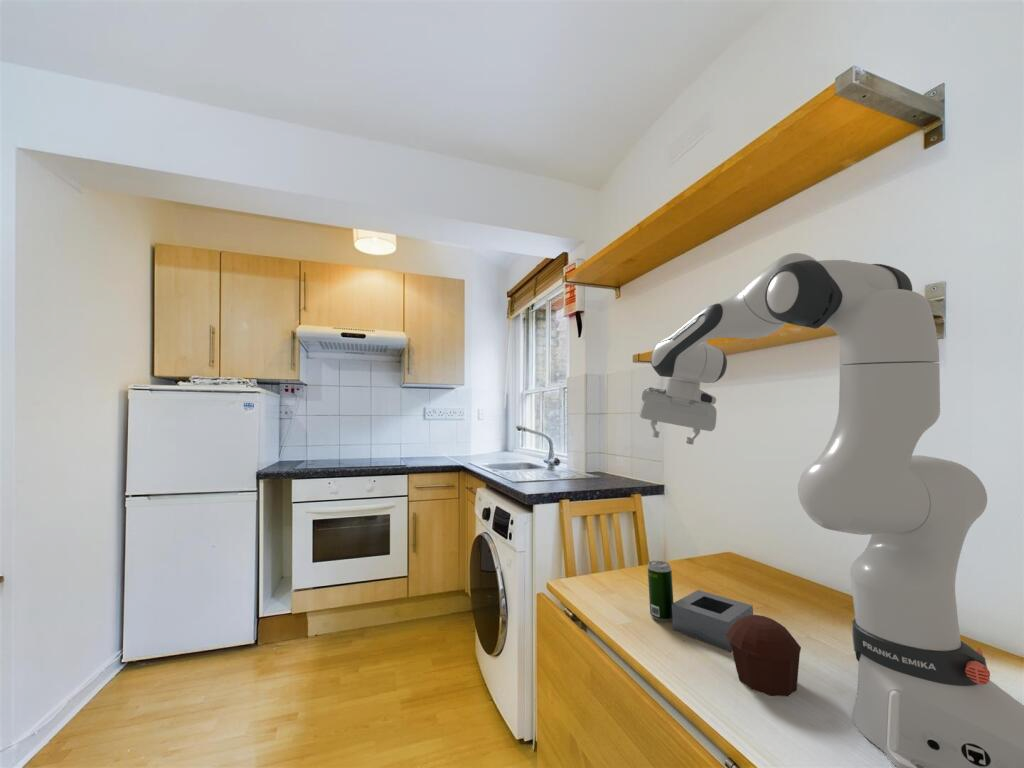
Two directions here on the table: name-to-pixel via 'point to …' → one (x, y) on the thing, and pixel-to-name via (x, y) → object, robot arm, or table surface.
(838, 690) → the table surface
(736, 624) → the muffin
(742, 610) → the holder block
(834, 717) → the table surface
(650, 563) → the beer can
